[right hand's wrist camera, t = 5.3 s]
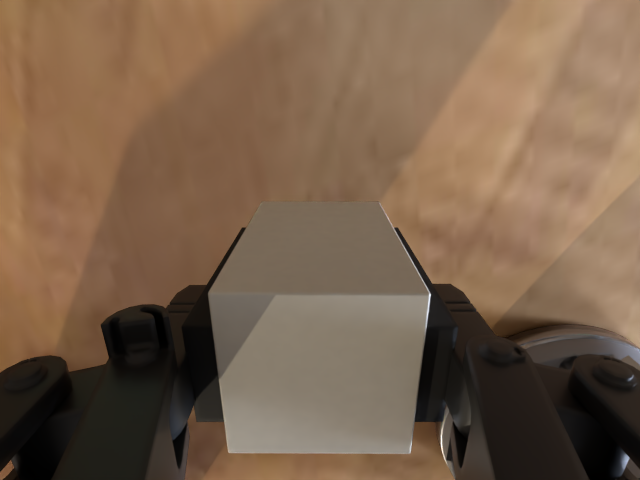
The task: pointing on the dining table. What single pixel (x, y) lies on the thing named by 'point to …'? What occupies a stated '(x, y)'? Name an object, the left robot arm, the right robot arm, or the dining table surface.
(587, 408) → the right robot arm
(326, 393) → the cream block
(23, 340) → the dining table surface
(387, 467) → the dining table surface
